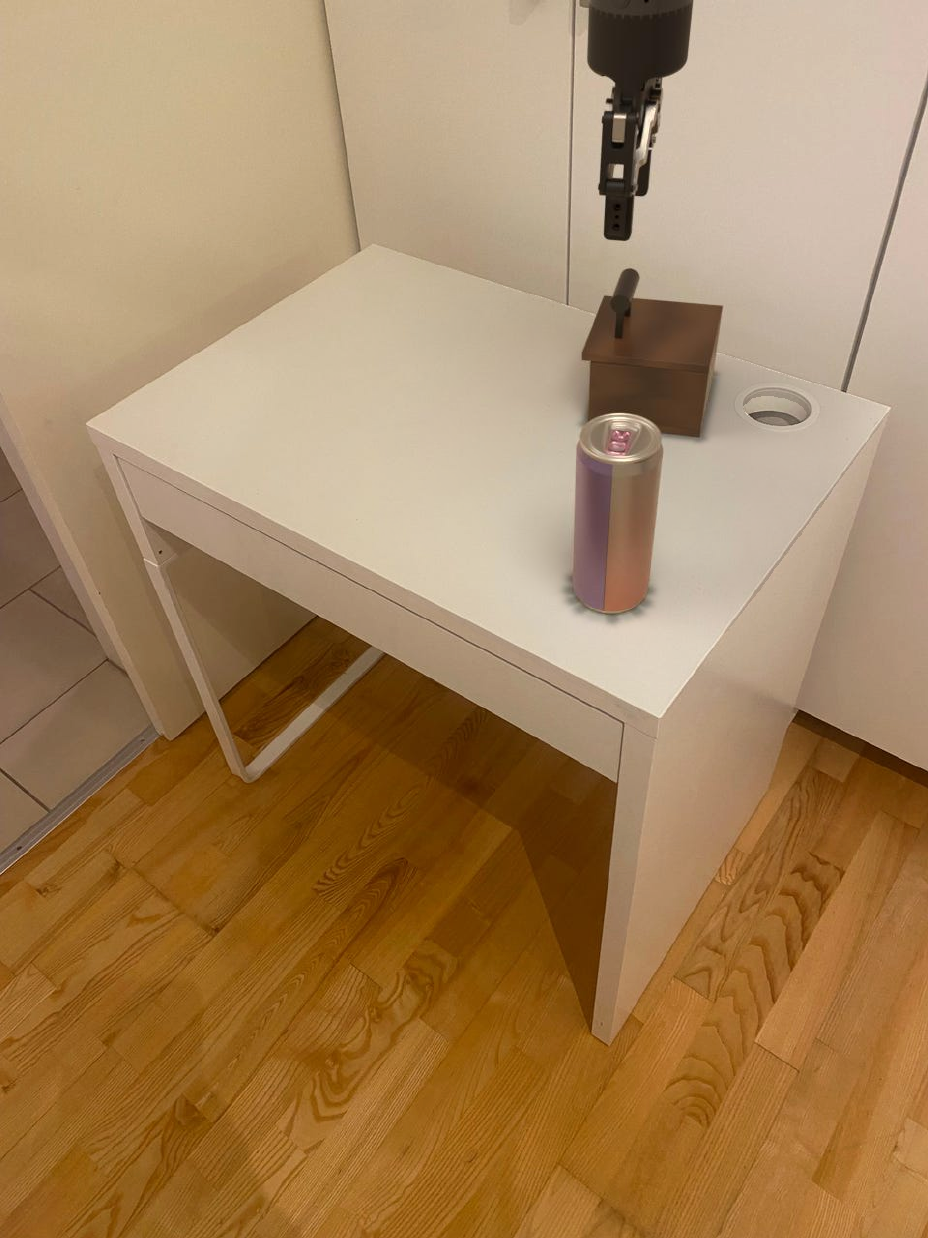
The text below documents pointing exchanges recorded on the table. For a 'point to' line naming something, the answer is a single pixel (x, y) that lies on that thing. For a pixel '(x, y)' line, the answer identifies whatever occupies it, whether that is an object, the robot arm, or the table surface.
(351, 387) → the table surface
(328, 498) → the table surface
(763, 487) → the table surface
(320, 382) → the table surface
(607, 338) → the lid
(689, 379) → the chest
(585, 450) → the beverage can
